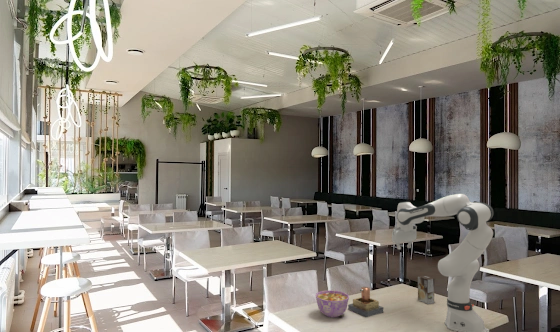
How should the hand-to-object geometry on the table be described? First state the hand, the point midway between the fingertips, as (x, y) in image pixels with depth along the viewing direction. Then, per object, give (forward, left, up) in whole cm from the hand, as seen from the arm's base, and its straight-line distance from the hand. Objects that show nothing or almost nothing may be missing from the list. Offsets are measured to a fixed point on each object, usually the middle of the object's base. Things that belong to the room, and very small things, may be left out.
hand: (404, 248), depth 246 cm
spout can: (+8, +26, -34) cm, 44 cm away
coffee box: (-1, -21, -37) cm, 43 cm away
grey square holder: (+8, +26, -37) cm, 46 cm away
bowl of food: (+14, +48, -37) cm, 62 cm away
